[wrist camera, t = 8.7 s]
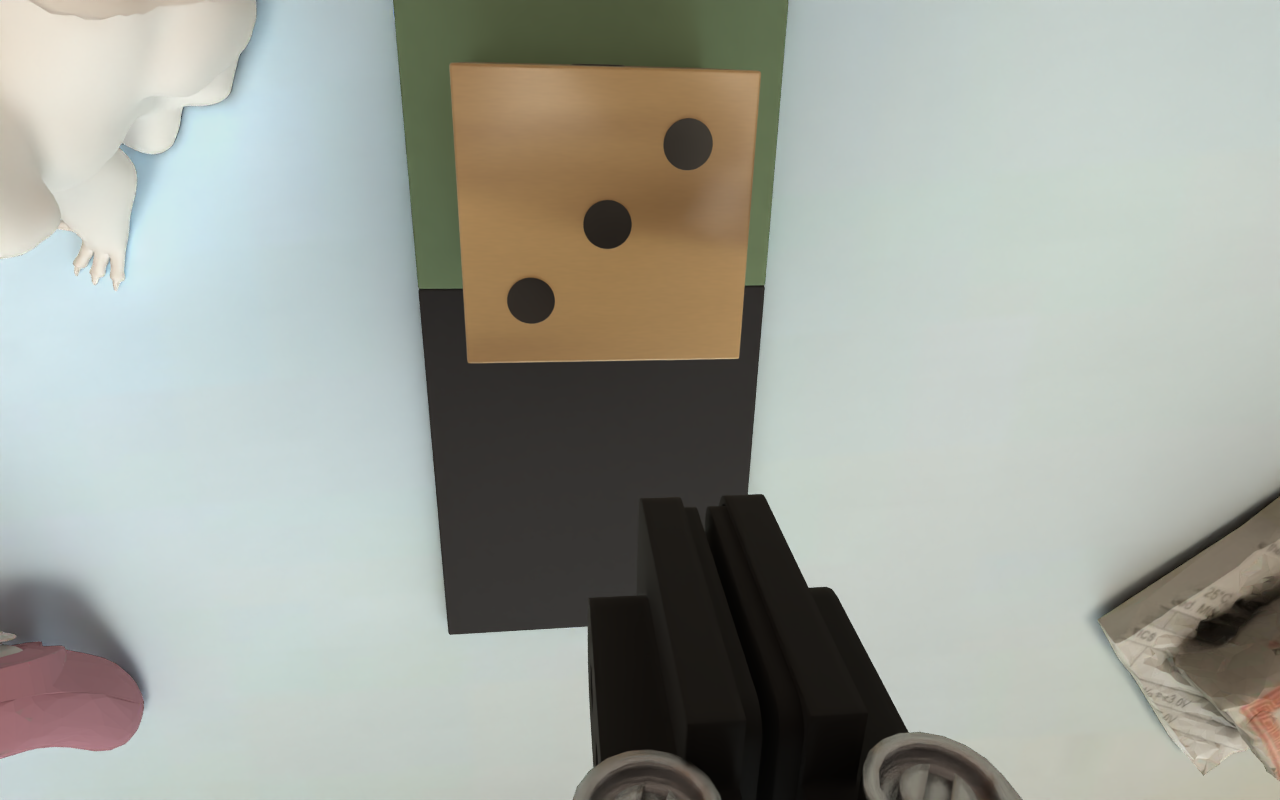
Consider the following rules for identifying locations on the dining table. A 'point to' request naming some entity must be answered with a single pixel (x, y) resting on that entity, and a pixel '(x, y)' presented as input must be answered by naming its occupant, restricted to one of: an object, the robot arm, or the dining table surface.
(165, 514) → the dining table surface
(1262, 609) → the packaged product
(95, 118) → the rabbit figurine
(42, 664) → the video game controller
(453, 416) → the dice mat
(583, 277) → the die
